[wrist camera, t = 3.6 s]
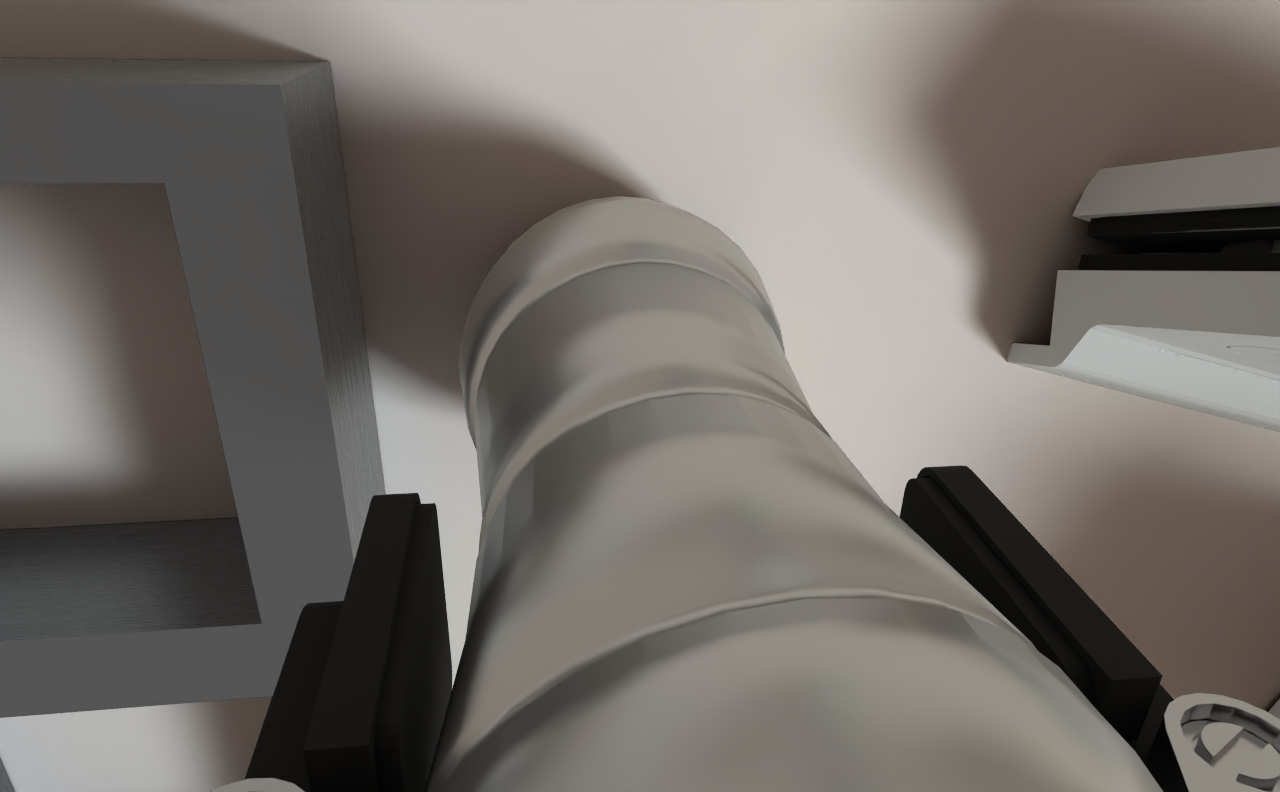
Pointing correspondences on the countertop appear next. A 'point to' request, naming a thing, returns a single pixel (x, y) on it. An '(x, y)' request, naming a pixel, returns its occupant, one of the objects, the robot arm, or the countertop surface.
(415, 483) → the countertop surface
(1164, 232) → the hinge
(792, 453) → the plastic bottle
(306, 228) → the tray
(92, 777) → the countertop surface
